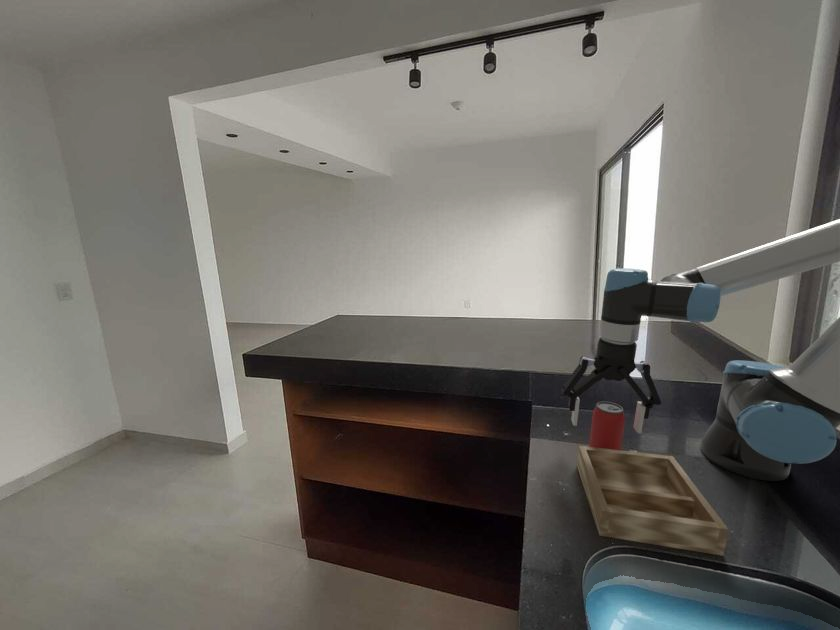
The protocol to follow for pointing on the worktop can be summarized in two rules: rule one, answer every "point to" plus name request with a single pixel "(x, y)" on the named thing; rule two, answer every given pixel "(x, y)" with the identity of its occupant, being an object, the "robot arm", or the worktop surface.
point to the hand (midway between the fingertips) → (605, 426)
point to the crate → (648, 501)
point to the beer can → (607, 426)
